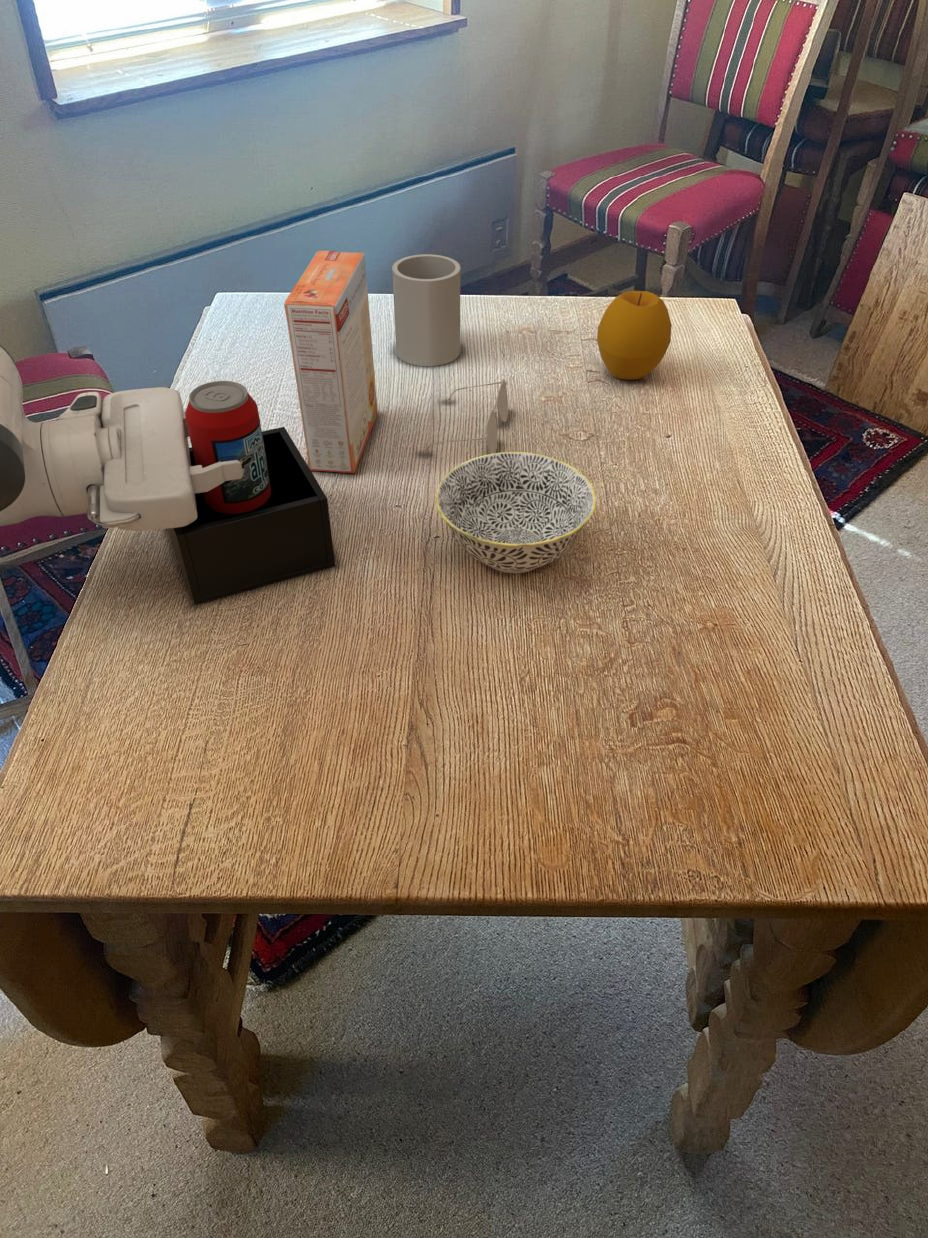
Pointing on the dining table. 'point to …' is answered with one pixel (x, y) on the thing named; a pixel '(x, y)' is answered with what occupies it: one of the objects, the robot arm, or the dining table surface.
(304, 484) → the black open box
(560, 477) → the bowl
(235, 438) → the beverage can
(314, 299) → the cracker box
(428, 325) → the cup
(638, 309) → the apple
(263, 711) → the dining table surface
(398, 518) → the dining table surface
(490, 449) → the sunglasses
